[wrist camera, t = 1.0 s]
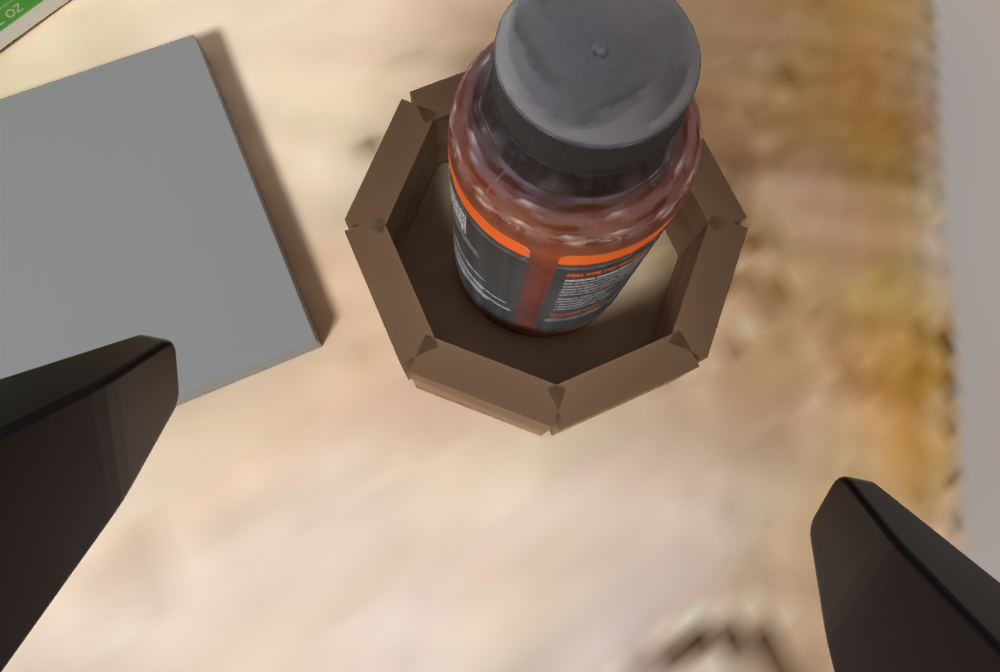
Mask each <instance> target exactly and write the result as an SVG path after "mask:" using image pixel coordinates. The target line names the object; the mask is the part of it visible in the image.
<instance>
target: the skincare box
mask: <svg viewBox="0 0 1000 672" xmlns="http://www.w3.org/2000/svg"><path fill="white" fill-rule="evenodd" d="M68 1H70V0H0V50H1V49H3V48H4V47H5V46H7V45H8V44H9V43H11V42H12V41H13V40H15V39H16V38H18V37H19V36H20V35H22V34H23V33H25V32H26V31H27V30H29V29H30V28H32V27H33V26H34V25H36V24H37V23H39V22H40V21H41V20H43V19H44V18H45V17H47V16H48V15H50V14H51V13H52V12H54V11H55V10H57V9H58V8H60V7H61V6H62V5H64V4H65V3H67V2H68Z"/></svg>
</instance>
